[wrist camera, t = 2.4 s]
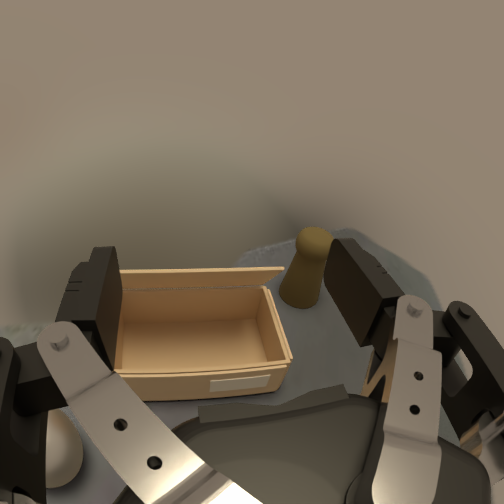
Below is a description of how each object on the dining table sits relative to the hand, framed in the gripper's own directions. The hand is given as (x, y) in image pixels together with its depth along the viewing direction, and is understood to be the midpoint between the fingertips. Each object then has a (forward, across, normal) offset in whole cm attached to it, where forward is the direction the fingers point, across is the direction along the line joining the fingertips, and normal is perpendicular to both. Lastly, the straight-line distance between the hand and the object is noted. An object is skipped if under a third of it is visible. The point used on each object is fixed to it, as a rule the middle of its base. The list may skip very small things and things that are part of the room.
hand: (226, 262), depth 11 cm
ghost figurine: (+2, +17, +24) cm, 30 cm away
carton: (+14, +1, +24) cm, 28 cm away
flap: (+19, +1, +17) cm, 26 cm away
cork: (+24, -15, +24) cm, 37 cm away
